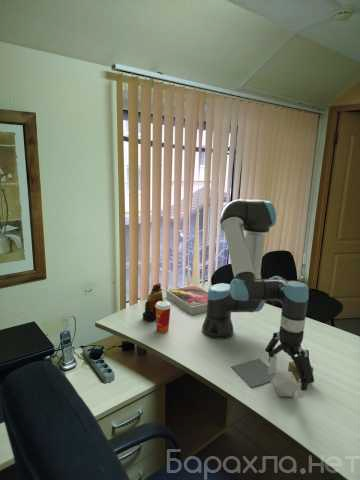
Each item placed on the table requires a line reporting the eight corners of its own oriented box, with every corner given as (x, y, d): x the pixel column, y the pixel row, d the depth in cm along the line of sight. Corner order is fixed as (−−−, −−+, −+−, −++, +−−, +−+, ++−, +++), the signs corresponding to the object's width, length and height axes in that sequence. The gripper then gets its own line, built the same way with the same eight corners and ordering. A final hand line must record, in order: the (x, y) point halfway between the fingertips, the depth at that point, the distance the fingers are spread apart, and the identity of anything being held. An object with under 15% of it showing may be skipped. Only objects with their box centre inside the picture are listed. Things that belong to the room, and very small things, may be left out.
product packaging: (191, 315, 162) (192, 307, 161) (166, 297, 186) (166, 290, 185) (222, 308, 174) (222, 300, 173) (194, 292, 197) (194, 284, 196)
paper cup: (154, 326, 148) (155, 300, 145) (170, 326, 148) (170, 300, 146) (154, 334, 140) (155, 307, 137) (170, 334, 141) (171, 307, 138)
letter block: (287, 376, 114) (289, 361, 113) (299, 372, 116) (300, 358, 115) (299, 386, 109) (301, 370, 107) (311, 381, 111) (313, 367, 110)
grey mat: (230, 367, 118) (230, 366, 118) (259, 359, 124) (259, 358, 123) (251, 388, 106) (251, 386, 106) (281, 378, 112) (281, 377, 112)
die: (293, 408, 98) (307, 382, 100) (271, 393, 99) (285, 367, 100) (284, 399, 106) (297, 375, 108) (263, 385, 107) (277, 361, 108)
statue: (156, 312, 163) (157, 278, 159) (164, 318, 157) (165, 282, 153) (137, 318, 155) (137, 282, 151) (145, 324, 149) (146, 287, 146)
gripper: (258, 314, 109) (253, 366, 113) (314, 349, 87) (305, 412, 90) (274, 311, 112) (269, 362, 116) (332, 344, 90) (323, 405, 94)
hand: (285, 384), depth 103 cm, fingers open, 13 cm apart
